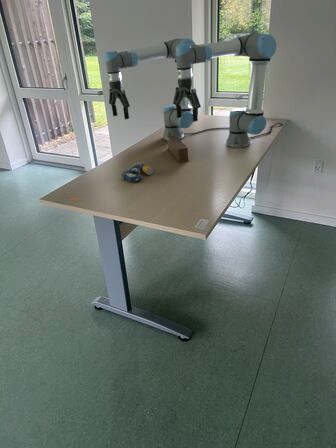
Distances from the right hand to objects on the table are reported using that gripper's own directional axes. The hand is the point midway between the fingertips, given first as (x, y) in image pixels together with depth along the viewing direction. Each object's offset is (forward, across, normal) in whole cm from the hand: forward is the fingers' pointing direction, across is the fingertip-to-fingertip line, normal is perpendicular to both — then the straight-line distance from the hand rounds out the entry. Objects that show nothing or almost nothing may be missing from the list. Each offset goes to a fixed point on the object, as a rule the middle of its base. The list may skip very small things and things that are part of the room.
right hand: (187, 119), depth 185 cm
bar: (+28, -21, +8) cm, 35 cm away
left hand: (+1, -44, -17) cm, 47 cm away
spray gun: (+27, -11, -29) cm, 41 cm away
